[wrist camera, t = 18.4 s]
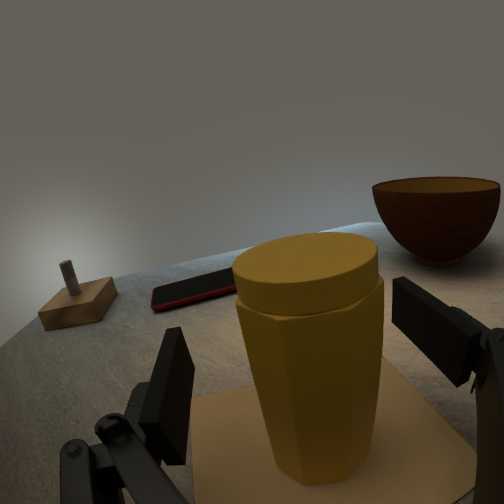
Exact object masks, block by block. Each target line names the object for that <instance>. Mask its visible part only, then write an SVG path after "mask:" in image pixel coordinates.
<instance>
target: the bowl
mask: <svg viewBox="0 0 504 504" xmlns="http://www.w3.org/2000/svg"><path fill="white" fill-rule="evenodd" d="M372 191H373V197H374V201H375V204H376V207H377V210H378V213H379V215H380V217H381V219H382V221H383V223H384V224H385V226H386V227H387V229H388V231H389V232H390V234H391V235H392V236H393V237H394V239H395V240H396V241H397V242H398V243H399V244H400V245H401V246H403V247H404V248H405V249H407V250H409V251H410V252H412V253H414V254H416V255H418V259H419V261H420V262H421V263H423V264H425V265H428V266H433V267H448V266H453V265H455V264H457V263H458V262H459V261H460V257H461V256H463V255H465V254H467V253H469V252H470V251H472V250H473V249H475V248H476V247H477V246H478V245H479V244H480V243H481V242H482V241H483V240H484V239H485V238H486V236H487V234H488V233H489V231H490V229H491V227H492V225H493V222H494V220H495V218H496V215H497V212H498V208H499V203H500V193H501V191H500V184H499V183H497V182H495V181H491V180H486V179H479V178H469V177H420V178H407V179H399V180H392V181H387V182H382V183H379V184H376V185H374V186H373V187H372Z"/></svg>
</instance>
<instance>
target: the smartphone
mask: <svg viewBox="0 0 504 504" xmlns="http://www.w3.org/2000/svg"><path fill="white" fill-rule="evenodd" d="M235 290H237V288H236V284H235V279H234V275H233V270H232V267H231V268H227V269H223V270H219V271H216V272H212V273H208V274H204V275H201V276H197V277H193V278H189V279H186V280H182V281H178V282H174V283H170V284H167V285H163V286H159V287H156V288H154V289H153V292H152V299H151V309H152V310H154V311H161V310H165V309H169V308H172V307H176V306H180V305H184V304H188V303H191V302H195V301H199V300H203V299H206V298H210V297H214V296H217V295H221V294H224V293H228V292H232V291H235Z"/></svg>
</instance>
